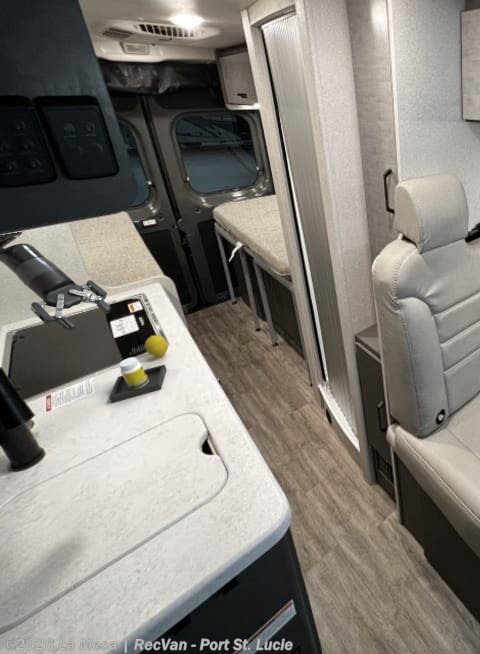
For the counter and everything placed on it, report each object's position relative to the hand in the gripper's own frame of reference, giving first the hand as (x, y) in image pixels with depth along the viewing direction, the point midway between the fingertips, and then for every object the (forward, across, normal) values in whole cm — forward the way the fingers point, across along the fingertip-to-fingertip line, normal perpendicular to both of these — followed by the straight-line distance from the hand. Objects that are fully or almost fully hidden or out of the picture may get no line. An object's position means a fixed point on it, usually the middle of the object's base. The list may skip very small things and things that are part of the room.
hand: (91, 320), depth 105 cm
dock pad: (+20, 0, +11) cm, 23 cm away
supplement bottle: (+20, 0, +11) cm, 22 cm away
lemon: (+15, +12, +16) cm, 25 cm away
